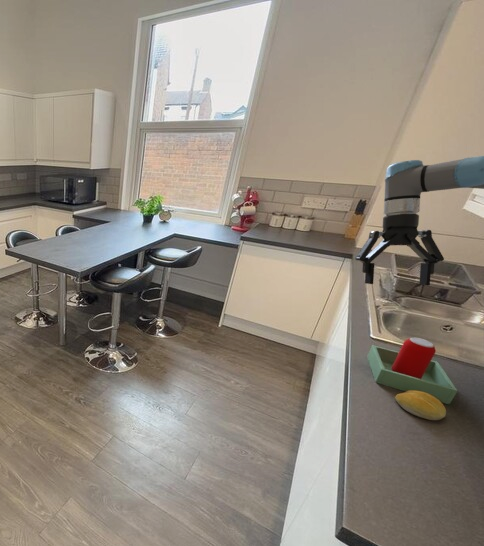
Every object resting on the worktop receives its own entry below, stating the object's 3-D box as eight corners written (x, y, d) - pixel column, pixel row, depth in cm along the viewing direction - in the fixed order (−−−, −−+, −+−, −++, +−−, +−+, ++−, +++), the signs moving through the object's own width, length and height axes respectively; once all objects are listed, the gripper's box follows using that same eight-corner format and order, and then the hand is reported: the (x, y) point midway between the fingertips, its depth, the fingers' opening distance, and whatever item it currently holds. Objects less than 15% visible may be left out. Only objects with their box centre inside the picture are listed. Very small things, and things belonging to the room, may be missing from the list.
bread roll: (387, 401, 82) (393, 389, 81) (409, 394, 85) (415, 382, 83) (428, 426, 75) (435, 413, 73) (451, 417, 77) (458, 405, 76)
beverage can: (425, 382, 88) (444, 347, 84) (407, 384, 87) (426, 349, 83) (401, 368, 94) (418, 334, 89) (384, 370, 93) (400, 336, 88)
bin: (431, 374, 93) (437, 361, 91) (449, 404, 81) (457, 390, 80) (366, 356, 100) (372, 344, 98) (375, 382, 89) (381, 369, 87)
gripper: (443, 214, 94) (438, 284, 95) (344, 217, 101) (340, 282, 102) (466, 211, 87) (460, 286, 88) (357, 214, 94) (354, 284, 95)
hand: (396, 284), depth 95 cm, fingers open, 13 cm apart
